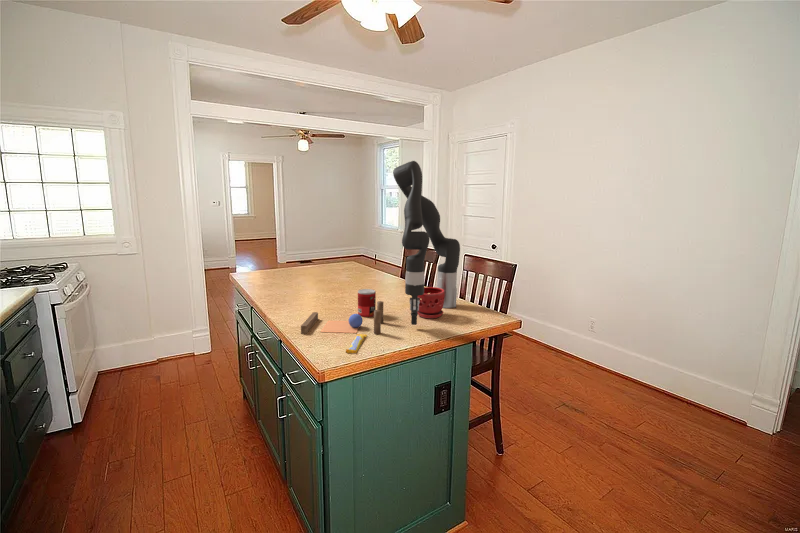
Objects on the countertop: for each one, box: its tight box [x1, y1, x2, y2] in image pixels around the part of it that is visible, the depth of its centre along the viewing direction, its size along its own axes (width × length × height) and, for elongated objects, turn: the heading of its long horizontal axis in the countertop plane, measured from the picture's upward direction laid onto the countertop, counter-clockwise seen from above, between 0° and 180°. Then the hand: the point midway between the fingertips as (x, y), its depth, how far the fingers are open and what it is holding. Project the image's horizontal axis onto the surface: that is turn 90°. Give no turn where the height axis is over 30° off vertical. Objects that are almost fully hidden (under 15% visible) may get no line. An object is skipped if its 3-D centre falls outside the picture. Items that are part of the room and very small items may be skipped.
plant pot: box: [417, 286, 445, 320], centre depth 168 cm, size 13×13×12 cm
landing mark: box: [320, 320, 360, 334], centre depth 153 cm, size 14×14×1 cm
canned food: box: [357, 288, 377, 318], centre depth 168 cm, size 8×8×11 cm
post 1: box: [376, 300, 384, 325], centre depth 158 cm, size 3×3×9 cm
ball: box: [348, 313, 364, 329], centre depth 152 cm, size 6×6×6 cm
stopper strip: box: [300, 311, 319, 335], centre depth 153 cm, size 2×18×3 cm, turn 178°
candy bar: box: [345, 333, 368, 354], centre depth 134 cm, size 17×4×2 cm, turn 173°
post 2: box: [373, 309, 382, 335], centre depth 145 cm, size 3×3×9 cm
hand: (414, 324), depth 151 cm, fingers closed
